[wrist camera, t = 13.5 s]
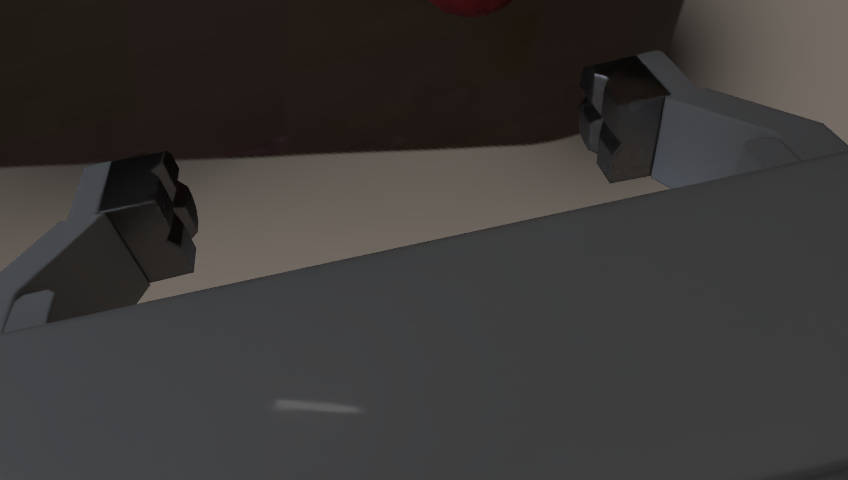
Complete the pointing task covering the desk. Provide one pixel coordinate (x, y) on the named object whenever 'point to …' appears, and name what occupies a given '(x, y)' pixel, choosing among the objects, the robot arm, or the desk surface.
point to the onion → (470, 6)
